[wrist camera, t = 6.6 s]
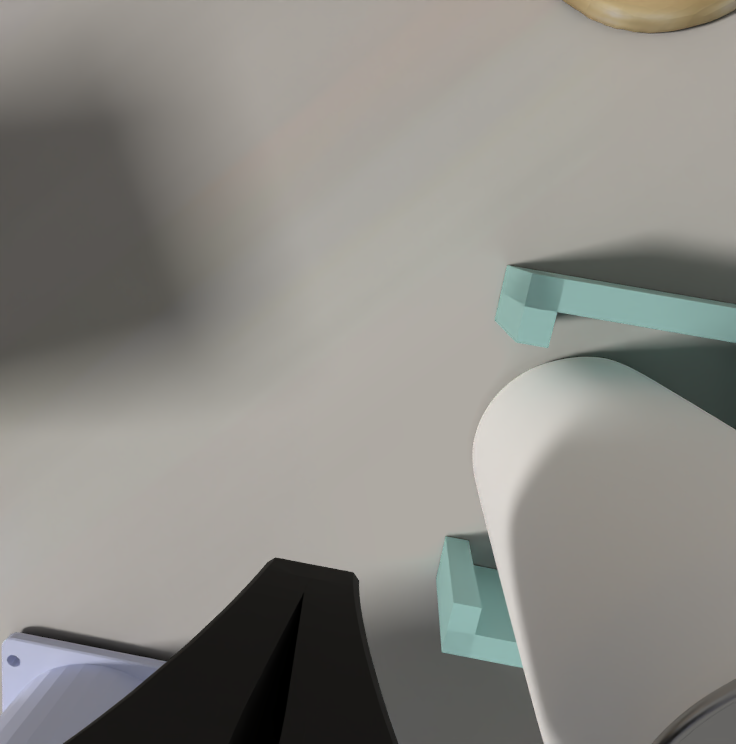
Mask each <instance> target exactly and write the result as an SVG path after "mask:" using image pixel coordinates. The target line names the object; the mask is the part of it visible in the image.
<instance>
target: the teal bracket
mask: <svg viewBox="0 0 736 744" xmlns="http://www.w3.org/2000/svg"><path fill="white" fill-rule="evenodd" d="M557 312H559V313H565V314H571V315H577V316H583V317H588V318H594V319H600V320H606V321H611V322H617V323H623V324H629V325H634V326H640V327H646V328H652V329H658V330H663V331H669V332H675V333H681V334H686V335H692V336H698V337H704V338H709V339H715V340H721V341H727V342H732V343H736V304H732V303H726V302H720V301H714V300H708V299H702V298H697V297H691V296H685V295H679V294H673V293H667V292H661V291H656V290H650V289H644V288H638V287H632V286H626V285H621V284H615V283H609V282H603V281H597V280H591V279H586V278H580V277H574V276H568V275H562V274H556V273H551V272H545V271H539V270H533V269H527V268H521V267H516V266H510V265H507V268H506V272H505V277H504V281H503V286H502V290H501V295H500V299H499V303H498V308H497V312H496V317H495V321H496V322H497V323H498V324H499V325H500V326H501V327H502V328H503V329H504V331H505V332H506V333H507V334H508V335H509V336H510V337H511V338H512V339H513V340H514V341H515V342H517V343H523V344H528V345H534V346H540V347H545V348H548V346H549V343H550V339H551V335H552V331H553V327H554V323H555V319H556V315H557ZM436 583H437V596H438V610H439V623H440V636H441V649H442V652H443V653H448V654H453V655H458V656H463V657H468V658H474V659H479V660H484V661H489V662H494V663H499V664H505V665H510V666H515V667H520V668H523V666H522V662H521V658H520V654H519V650H518V646H517V643H516V639H515V635H514V631H513V627H512V624H511V620H510V616H509V612H508V608H507V604H506V600H505V597H504V593H503V589H502V585H501V581H500V577H499V573H498V570H497V569H491V568H486V567H481V566H475V565H473V560H472V555H471V550H470V544H469V541H468V540H463V539H458V538H452V537H447V536H446V537H445V542H444V546H443V551H442V555H441V559H440V564H439V568H438V573H437V577H436Z"/></svg>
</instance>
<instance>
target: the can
mask: <svg viewBox="0 0 736 744" xmlns="http://www.w3.org/2000/svg"><path fill="white" fill-rule="evenodd" d="M473 470H474V476H475V481H476V486H477V490H478V494H479V498H480V502H481V506H482V510H483V514H484V518H485V522H486V526H487V530H488V534H489V538H490V542H491V546H492V550H493V554H494V558H495V562H496V566H497V569H498V573H499V577H500V581H501V585H502V589H503V593H504V597H505V600H506V604H507V608H508V612H509V616H510V620H511V624H512V627H513V631H514V635H515V639H516V643H517V646H518V650H519V654H520V658H521V662H522V666H523V669H524V673H525V677H526V681H527V684H528V688H529V692H530V696H531V699H532V703H533V707H534V710H535V714H536V718H537V722H538V725H539V729H540V732H541V735H542V739H543V742H544V744H736V430H735V429H734V428H732V427H730V426H729V425H727V424H725V423H724V422H722V421H720V420H719V419H717V418H716V417H714V416H712V415H711V414H709V413H707V412H706V411H704V410H702V409H701V408H699V407H697V406H696V405H694V404H692V403H691V402H689V401H687V400H686V399H684V398H682V397H681V396H679V395H677V394H676V393H674V392H672V391H671V390H669V389H667V388H666V387H664V386H662V385H661V384H659V383H657V382H656V381H654V380H652V379H651V378H649V377H647V376H645V375H644V374H642V373H640V372H638V371H636V370H634V369H632V368H630V367H628V366H626V365H624V364H621V363H619V362H616V361H613V360H610V359H606V358H600V357H574V358H567V359H561V360H556V361H552V362H549V363H545V364H542V365H539V366H537V367H534V368H532V369H530V370H528V371H526V372H524V373H523V374H521V375H519V376H518V377H516V378H515V379H514V380H512V381H511V382H510V383H509V384H507V385H506V386H505V387H504V388H503V389H502V390H501V391H500V392H499V393H498V394H497V395H496V396H495V398H494V399H493V400H492V401H491V403H490V404H489V406H488V407H487V409H486V410H485V412H484V414H483V416H482V418H481V420H480V422H479V425H478V428H477V431H476V434H475V438H474V444H473Z"/></svg>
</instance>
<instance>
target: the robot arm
mask: <svg viewBox="0 0 736 744" xmlns="http://www.w3.org/2000/svg"><path fill="white" fill-rule="evenodd" d="M0 744H398V742H397V739H396V736H395V733H394V730H393V727H392V725H391V722H390V719H389V716H388V713H387V710H386V706H385V703H384V700H383V697H382V694H381V690H380V687H379V683H378V680H377V676H376V672H375V669H374V665H373V662H372V658H371V655H370V650H369V646H368V642H367V638H366V633H365V628H364V623H363V618H362V612H361V605H360V597H359V580H358V578H357V577H356V576H355V574H354V573H353V572H348V571H343V570H338V569H333V568H327V567H322V566H317V565H312V564H306V563H301V562H296V561H291V560H286V559H280V558H274V559H272V560H271V561H269V562H267V563H266V565H265V566H264V567H263V568H262V569H261V571H260V572H259V573H258V574H257V575H256V576H255V577H254V578H253V580H252V581H251V582H250V583H249V584H248V585H247V586H246V587H245V588H244V589H243V590H242V591H241V592H240V593H239V594H238V595H237V596H236V598H235V599H234V600H233V601H232V602H231V603H230V604H229V605H228V606H227V607H226V608H225V609H224V610H223V611H222V612H221V613H220V614H218V615H217V616H216V617H215V618H214V619H213V620H212V621H211V622H210V623H209V624H208V625H207V626H206V627H205V628H204V629H203V630H202V631H200V632H199V633H198V634H197V635H196V636H195V637H194V638H193V639H192V640H191V641H190V642H189V643H188V644H187V645H185V646H184V647H183V648H182V649H181V650H180V651H179V652H178V653H176V654H175V655H174V656H173V657H172V658H171V659H169V660H168V661H162V660H157V659H152V658H146V657H141V656H136V655H131V654H126V653H121V652H116V651H111V650H106V649H101V648H96V647H91V646H86V645H81V644H75V643H70V642H65V641H60V640H55V639H50V638H45V637H40V636H35V635H30V634H25V633H17V632H15V633H12V634H11V635H10V636H9V637H8V638H7V639H6V640H5V641H4V642H3V644H2V714H1V716H0Z"/></svg>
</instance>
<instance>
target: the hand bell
mask: <svg viewBox="0 0 736 744" xmlns="http://www.w3.org/2000/svg"><path fill="white" fill-rule="evenodd" d="M563 1H564V2H566V3H567V4H569V5H570V6H571V7H573V8H574V9H576V10H578V11H579V12H581V13H582V14H584V15H585V16H586V17H588V18H589V19H592V20H595V21H597V22H600V23H602V24H604V25H606V26H610V27H613V28H616V29H625V30H629V31H633V32H644V33H657V32H669V31H675V30H680V29H685V28H689V27H693V26H697V25H700V24H704V23H707V22H711V21H713V20H715V19H718V18H720V17H722V16H724V15H726V14H728V13H730V12H732V11H733V10H735V9H736V0H563Z"/></svg>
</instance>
